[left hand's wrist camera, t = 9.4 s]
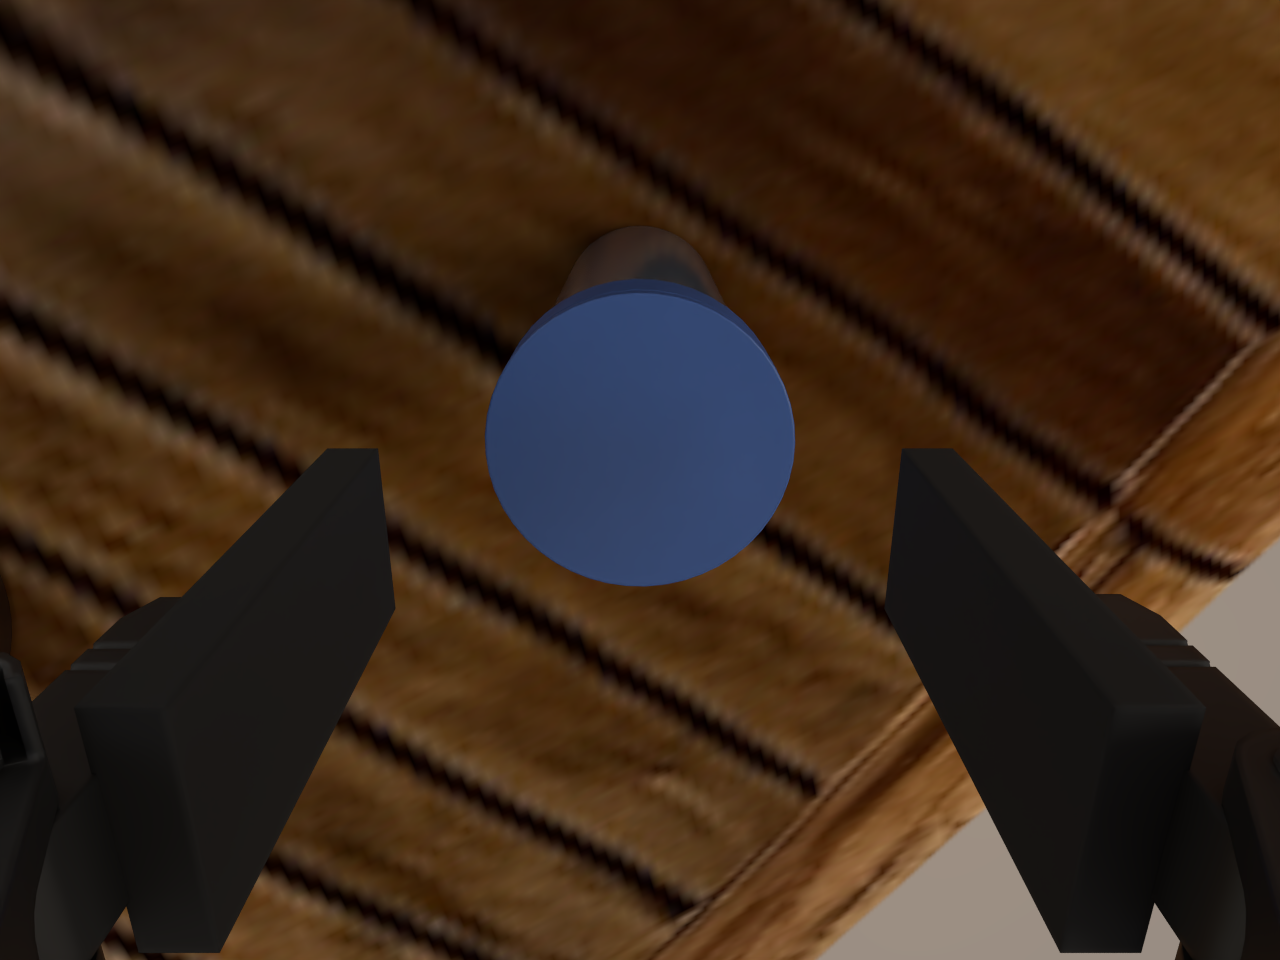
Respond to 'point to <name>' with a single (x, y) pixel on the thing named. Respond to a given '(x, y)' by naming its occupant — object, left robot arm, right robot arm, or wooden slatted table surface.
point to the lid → (640, 434)
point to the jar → (639, 262)
